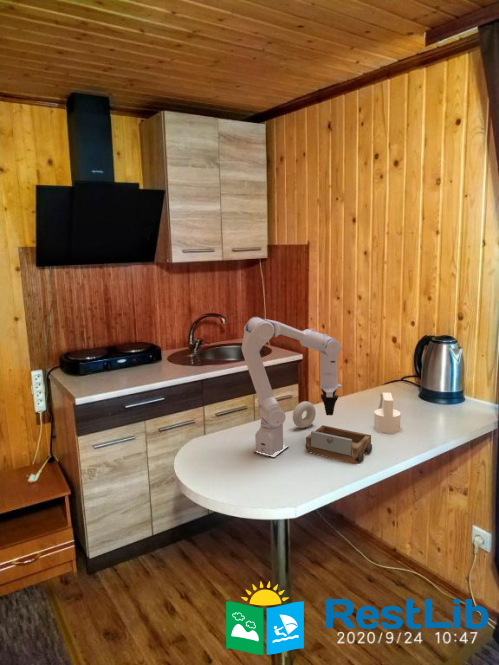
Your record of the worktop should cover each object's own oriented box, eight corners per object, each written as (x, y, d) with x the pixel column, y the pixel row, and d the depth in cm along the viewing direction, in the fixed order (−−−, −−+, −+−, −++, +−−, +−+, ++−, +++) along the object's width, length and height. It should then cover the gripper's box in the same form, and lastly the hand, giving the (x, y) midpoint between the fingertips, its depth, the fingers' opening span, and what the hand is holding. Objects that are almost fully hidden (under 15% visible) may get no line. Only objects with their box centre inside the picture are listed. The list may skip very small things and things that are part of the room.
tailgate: (349, 456, 145) (349, 441, 145) (309, 447, 153) (309, 432, 152) (352, 454, 147) (352, 439, 146) (312, 445, 155) (312, 430, 154)
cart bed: (358, 464, 145) (358, 449, 144) (304, 451, 156) (303, 436, 155) (373, 450, 155) (373, 435, 154) (320, 438, 165) (320, 424, 164)
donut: (296, 432, 172) (296, 405, 170) (290, 429, 174) (290, 403, 172) (317, 425, 177) (317, 399, 175) (311, 423, 180) (311, 397, 178)
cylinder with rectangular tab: (401, 433, 167) (402, 401, 165) (374, 432, 169) (375, 400, 166) (398, 424, 175) (399, 392, 173) (373, 423, 177) (373, 392, 175)
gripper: (342, 378, 152) (342, 418, 155) (340, 366, 166) (340, 404, 169) (319, 378, 153) (320, 418, 156) (319, 366, 167) (320, 403, 170)
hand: (329, 411), depth 162 cm, fingers open, 7 cm apart
